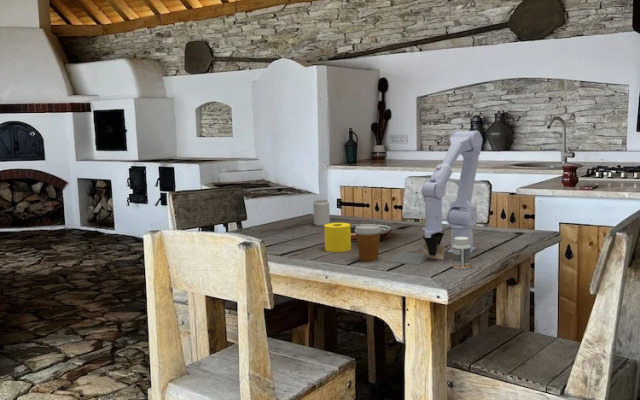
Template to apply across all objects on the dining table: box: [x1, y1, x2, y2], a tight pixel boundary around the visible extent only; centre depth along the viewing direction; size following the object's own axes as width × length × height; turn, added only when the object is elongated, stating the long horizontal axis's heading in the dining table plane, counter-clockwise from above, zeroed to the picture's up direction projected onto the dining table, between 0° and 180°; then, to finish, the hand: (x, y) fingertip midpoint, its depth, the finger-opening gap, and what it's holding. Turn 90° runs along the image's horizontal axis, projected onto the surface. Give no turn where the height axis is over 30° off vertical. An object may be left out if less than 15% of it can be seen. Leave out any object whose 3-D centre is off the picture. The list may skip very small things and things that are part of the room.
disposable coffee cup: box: [354, 223, 382, 263], centre depth 216 cm, size 10×10×12 cm
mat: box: [385, 251, 428, 266], centre depth 216 cm, size 16×12×1 cm
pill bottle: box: [452, 237, 472, 270], centre depth 201 cm, size 6×6×10 cm
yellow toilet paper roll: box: [323, 222, 352, 253], centre depth 236 cm, size 10×10×9 cm
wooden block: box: [422, 242, 446, 260], centre depth 215 cm, size 2×7×5 cm, turn 63°
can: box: [312, 199, 331, 227], centre depth 290 cm, size 8×8×12 cm
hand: (433, 254), depth 215 cm, fingers open, 3 cm apart
